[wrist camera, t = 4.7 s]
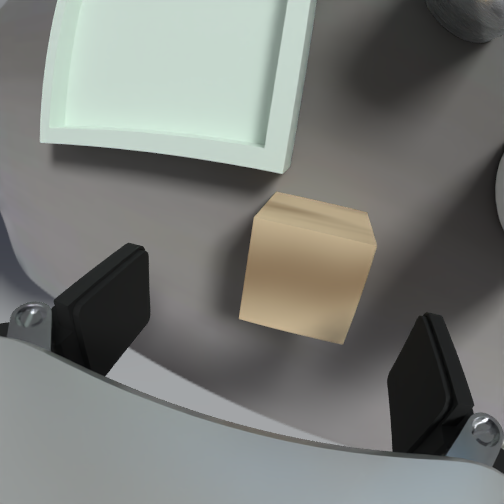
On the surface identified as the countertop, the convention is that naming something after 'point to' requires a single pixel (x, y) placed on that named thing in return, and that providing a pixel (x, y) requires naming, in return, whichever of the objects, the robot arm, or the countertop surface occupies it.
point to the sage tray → (179, 77)
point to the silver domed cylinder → (470, 18)
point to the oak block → (307, 267)
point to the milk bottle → (500, 191)
